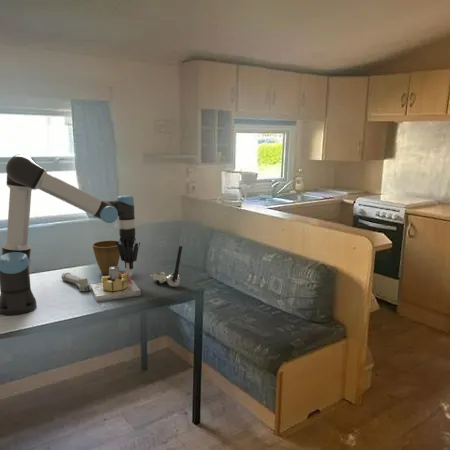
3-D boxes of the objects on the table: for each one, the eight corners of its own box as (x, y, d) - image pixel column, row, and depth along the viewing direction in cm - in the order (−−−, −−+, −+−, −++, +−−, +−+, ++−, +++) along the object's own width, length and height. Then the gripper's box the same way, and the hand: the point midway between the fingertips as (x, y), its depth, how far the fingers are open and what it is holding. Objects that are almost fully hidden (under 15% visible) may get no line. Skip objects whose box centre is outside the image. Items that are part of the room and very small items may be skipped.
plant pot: (98, 268, 255) (96, 240, 252) (125, 268, 255) (124, 240, 252) (90, 276, 241) (88, 246, 238) (118, 276, 241) (117, 246, 238)
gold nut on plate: (96, 301, 204) (94, 275, 202) (90, 289, 220) (88, 265, 218) (140, 295, 212) (139, 270, 210) (131, 284, 228) (130, 260, 226)
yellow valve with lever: (119, 291, 209) (118, 280, 208) (97, 289, 212) (96, 278, 211) (140, 279, 227) (139, 268, 226) (119, 276, 231) (119, 266, 230)
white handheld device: (69, 271, 237) (90, 275, 218) (71, 284, 238) (92, 289, 219) (59, 273, 234) (80, 278, 215) (61, 286, 234) (82, 292, 215)
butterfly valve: (146, 281, 231) (167, 286, 219) (153, 242, 233) (175, 244, 221) (160, 283, 237) (181, 287, 225) (167, 244, 239) (188, 247, 227)
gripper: (142, 227, 221) (145, 274, 225) (121, 225, 226) (123, 271, 231) (133, 230, 214) (136, 278, 219) (111, 228, 220) (114, 275, 224)
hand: (129, 275), depth 225 cm, fingers closed
